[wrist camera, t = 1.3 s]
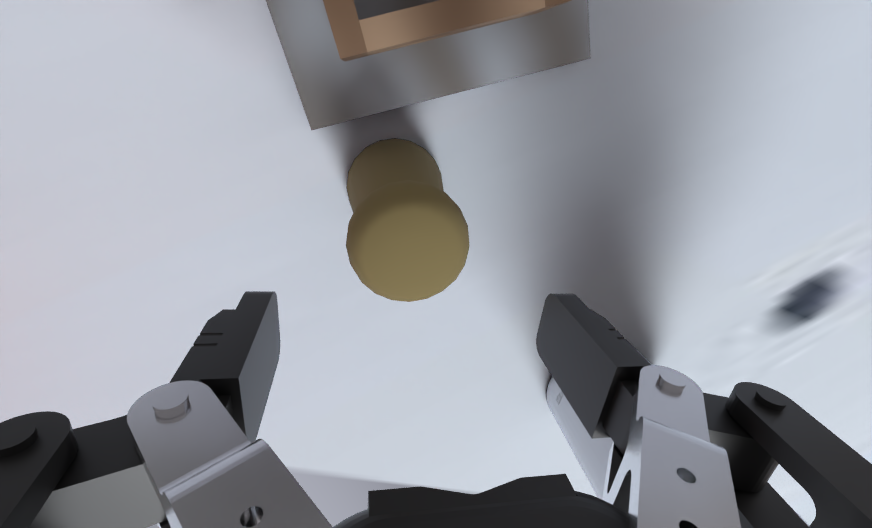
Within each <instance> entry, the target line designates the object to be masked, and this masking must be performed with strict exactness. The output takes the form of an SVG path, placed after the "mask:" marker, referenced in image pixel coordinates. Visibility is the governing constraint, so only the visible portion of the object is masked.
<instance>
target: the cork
mask: <svg viewBox="0 0 872 528" xmlns="http://www.w3.org/2000/svg"><path fill="white" fill-rule="evenodd" d="M347 192H348V196H349V201H350V204H351V207H352V210H353V215H352V217H351V219H350V221H349V225H348V233H347V241H346V248H347V252H348V256H349V261H350V264H351V266H352V267H353V269H354V271H355V272H356V274H357V275H358V277H359V279H360V280H361V282H362V283H363V284H365V285H366V286H367V287H368V288H369V289H371V290H372V291H373V292H374V293H376V294H378V295H381V296H383V297H386V298H388V299H391V300H397V301H407V302H411V301H417V300H422V299H427V298H429V297H431V296H433V295H435V294H438V293H440V292H442V291H443V290H444V289H446V288H447V287H448V286H449V285H450V284H451V283H452V282H454V281H455V280H456V278H457V277H458V275H459V274H460V272H461V270H462V269H463V267H464V265H465V262H466V258H467V254H468V250H469V235H468V225H467V223H466V221H465V219H464V216H463V214H462V212H461V210H460V208H459V207H458V205H457V204H456V203H455V202H454V201H453V200H452V199H451V198H450V197H449V196H448V195H447V194H446V193H445V192H444V191H443V184H442V178H441V173H440V171H439V168H438V166H437V164H436V162H435V160H434V159H433V158H432V156H431V155H430V154H429V153H428V152H427V151H426V150H425V149H424V148H422V147H420V146H419V145H417V144H415V143H413V142H411V141H407V140H401V139H396V138H395V139H387V140H380V141H378V142H376V143H374V144H372V145H370V146H368V147H366V148H365V149H364V150H363V151H362V152H361V153H360V154H359V155H358V156H357V157H356V158H355V160H354V162H353V164H352V166H351V168H350V170H349V172H348V180H347Z"/></svg>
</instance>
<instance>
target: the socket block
mask: <svg viewBox="0 0 872 528" xmlns="http://www.w3.org/2000/svg"><path fill="white" fill-rule="evenodd" d="M266 2H267V5H268V8H269V11H270V14H271V16H272V19H273V22H274V25H275V28H276V31H277V33H278V36H279V39H280V42H281V45H282V48H283V50H284V53H285V56H286V59H287V62H288V65H289V67H290V70H291V73H292V76H293V79H294V82H295V85H296V87H297V90H298V93H299V96H300V99H301V102H302V104H303V107H304V110H305V113H306V116H307V119H308V121H309V124H310V127H311V130H315V129H319V128H323V127H326V126H330V125H334V124H338V123H342V122H346V121H350V120H354V119H357V118H361V117H365V116H369V115H373V114H377V113H381V112H385V111H388V110H392V109H396V108H400V107H404V106H408V105H412V104H416V103H419V102H423V101H427V100H431V99H435V98H439V97H443V96H447V95H450V94H454V93H458V92H462V91H466V90H470V89H474V88H477V87H481V86H485V85H489V84H493V83H497V82H501V81H505V80H508V79H512V78H516V77H520V76H524V75H528V74H532V73H536V72H539V71H543V70H547V69H551V68H555V67H559V66H563V65H567V64H570V63H574V62H578V61H582V60H586V59H590V38H589V16H588V0H266Z"/></svg>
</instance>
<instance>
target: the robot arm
mask: <svg viewBox="0 0 872 528" xmlns="http://www.w3.org/2000/svg"><path fill="white" fill-rule="evenodd" d="M536 344H537V350H538V353H539V356H540V357H541V359H542V361H543V362H544V364H545V365H546V367H547V369H548V370H549V372H550V373H551V375H552V378H551V380H550V382H549V385H548V389H547V402H548V405H549V408H550V410H551V412H552V414H553V416H554V417H555V419H556V421H557V423H558V425H559V427H560V428H561V430H562V432H563V434H564V436H565V438H566V439H567V441H568V443H569V445H570V447H571V449H572V451H573V453H574V455H575V456H576V458H577V460H578V462H579V464H580V466H581V467H582V469H583V471H584V473H585V475H586V477H587V478H588V480H589V482H590V484H591V486H592V488H593V489H594V491H595V493H596V495H597V497H598V498H597V497H594V496H592V495H588V494H585V493H581V492H577V491H574V489H573V487H572V485H571V483H570V481H569V479H568V478H567V476H566V474H558V475H547V476H536V477H524V478H519V479H516V480H514V481H511V482H508V483H506V484H503V485H500V486H498V487H495V488H493V489H490V490H487V491H485V492H482V493H479V494H465V493H459V492H452V491H446V490H440V489H433V488H427V487H410V488H399V489H387V490H376V491H369V492H368V509H367V510H364V511H362V512H359V513H357V514H355V515H353V516H351V517H349V518H347V519H345V520H343V521H342V522H340V523H339V524H338V525H336V526H334V527H332V526H331V524H330V523H329V522H328V521H327V519H326V518H325V517H324V515H323V514H322V513H321V512H320V510H319V509H318V508H317V507H316V505H315V504H314V503H313V501H312V500H311V499H310V497H309V496H308V495H307V494H306V492H305V491H304V490H303V488H302V487H301V486H300V485H299V483H298V482H297V481H296V479H295V478H294V477H293V476H292V474H291V473H290V472H289V471H288V469H287V468H286V467H285V465H284V464H283V463H282V462H281V460H280V459H279V458H278V456H277V455H276V454H275V453H274V451H273V450H272V449H271V447H270V446H269V445H268V444H267V443H266V442H265V441H264V440H262V439H258V440H256V437H257V434H258V430H259V427H260V423H261V420H262V416H263V413H264V409H265V406H266V402H267V399H268V395H269V392H270V388H271V385H272V381H273V378H274V375H275V371H276V368H277V364H278V360H279V354H280V332H279V319H278V305H277V296H276V293H275V292H245V293H244V295H243V297H242V299H241V300H240V302H239V304H238V306H237V308H236V310H222V311H221V312H219V313H218V314H216V315H215V316H214V317H212V318H211V319H209V320H208V321H207V323H206V325H205V326H204V328H203V329H202V331H201V333H200V336H198V337H197V339H196V341H195V342H194V346H193V347H191V349H190V350H189V352H188V354H187V355H186V357H185V359H184V360H183V362H182V363H181V365H180V367H179V368H178V370H177V371H176V373H175V375H174V376H173V378H172V380H171V381H170V383H168V384H165V385H162V386H159V387H157V388H155V389H153V390H151V391H149V392H147V393H146V394H144V395H143V396H141V397H140V398H139V399H138V400H137V401H136V402H135V403H134V404H133V405H132V406H131V408H130V409H129V411H128V414H127V415H125V416H123V417H119V418H116V419H112V420H108V421H104V422H100V423H96V424H92V425H88V426H84V427H80V428H76V429H72V427H71V424H70V421H69V419H68V418H67V417H66V416H65V415H63V414H61V413H57V412H36V413H30V414H25V415H21V416H18V417H15V418H12V419H9V420H6V421H4V422H2V423H0V528H146V527H149V526H152V525H154V524H157V525H158V527H159V528H872V464H871V463H870V462H868V461H867V460H866V459H865V458H863V457H862V456H861V455H860V454H858V453H857V452H856V451H855V450H853V449H852V448H851V447H850V446H848V445H847V444H846V443H845V442H843V441H842V440H841V439H840V438H838V437H837V436H836V435H835V434H833V433H832V432H831V431H830V430H828V429H827V428H826V427H825V426H823V425H822V424H821V423H820V422H819V421H817V420H816V419H815V418H814V417H812V416H811V415H810V414H809V413H807V412H806V411H805V410H804V409H802V408H801V407H800V406H799V405H797V404H796V403H795V402H794V401H792V400H791V399H790V398H788V397H786V396H785V395H783V394H781V393H780V392H778V391H776V390H773V389H771V388H769V387H766V386H763V385H760V384H756V383H751V382H741V383H738V384H736V385H735V387H734V389H733V391H732V393H731V395H730V397H729V398H728V397H723V396H717V395H712V394H707V393H703V392H702V390H701V389H700V387H699V386H698V385H697V384H696V383H695V382H694V381H693V380H692V379H690V378H689V377H687V376H686V375H684V374H682V373H680V372H678V371H676V370H674V369H671V368H668V367H664V366H658V365H652V364H651V363H650V362H649V361H648V360H647V359H646V358H645V357H644V356H643V355H642V354H641V353H640V352H639V351H638V350H637V349H635V348H634V347H633V346H632V345H631V344H630V343H629V342H628V341H627V340H626V339H624V337H623V336H622V335H621V334H620V333H619V332H618V331H616V330H615V328H614V327H613V326H612V325H611V324H610V323H609V322H608V321H607V320H606V319H605V318H604V317H602V316H600V315H599V314H597V313H595V312H594V311H592V310H590V309H589V308H588V307H587V306H586V305H585V304H584V303H583V302H582V301H581V300H580V299H579V298H578V297H577V296H576V295H574V294H549V295H548V296H547V298H546V300H545V304H544V308H543V312H542V316H541V320H540V325H539V329H538V333H537V339H536ZM778 464H780V465H781V466H782V467H783V468H784V469H785V470H786V471H787V472H788V473H789V474H790V475H791V476H792V477H793V478H794V479H795V480H796V481H797V482H798V483H799V484H800V485H801V486H802V487H803V488H804V489H805V490H806V491H807V492H808V494H809V495H810V496H811V498H812V500H813V502H814V504H815V507H816V517H815V519H814V521H813V522H812V524H811V525H810V526H809V525H808V524H807V523H806V522H805V521H804V520H803V519H802V518H801V517H800V516H799V515H798V514H797V513H796V512H795V511H794V510H793V509H792V508H791V507H790V506H789V505H788V504H787V503H786V502H785V500H784V499H783V498H782V497H781V496H780V495H779V494H778V493H777V492H776V491H775V490H774V489H773V488H772V487H771V485H770V484H769V483H768V482H767V481H768V480H769V478H770V476H771V475H772V473H773V472H774V470H775V469H776V467H777V466H778Z"/></svg>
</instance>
